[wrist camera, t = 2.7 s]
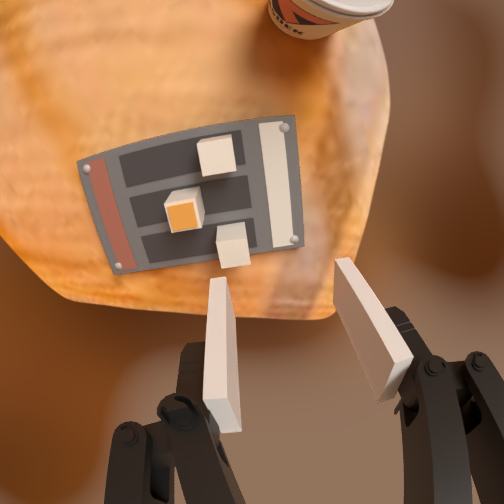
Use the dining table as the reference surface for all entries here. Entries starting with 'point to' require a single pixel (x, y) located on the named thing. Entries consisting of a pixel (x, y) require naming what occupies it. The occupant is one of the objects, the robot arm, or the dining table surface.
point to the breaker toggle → (185, 209)
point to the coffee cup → (322, 15)
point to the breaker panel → (212, 190)
